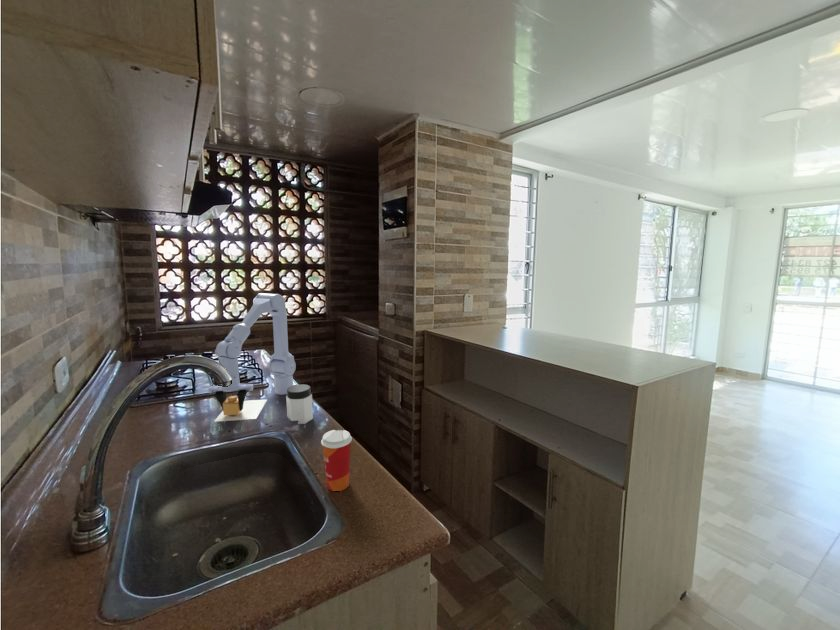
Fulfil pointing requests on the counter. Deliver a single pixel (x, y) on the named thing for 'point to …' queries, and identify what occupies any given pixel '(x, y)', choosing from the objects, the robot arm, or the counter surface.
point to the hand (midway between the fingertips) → (233, 410)
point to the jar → (299, 403)
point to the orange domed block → (231, 406)
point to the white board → (245, 411)
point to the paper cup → (337, 458)
